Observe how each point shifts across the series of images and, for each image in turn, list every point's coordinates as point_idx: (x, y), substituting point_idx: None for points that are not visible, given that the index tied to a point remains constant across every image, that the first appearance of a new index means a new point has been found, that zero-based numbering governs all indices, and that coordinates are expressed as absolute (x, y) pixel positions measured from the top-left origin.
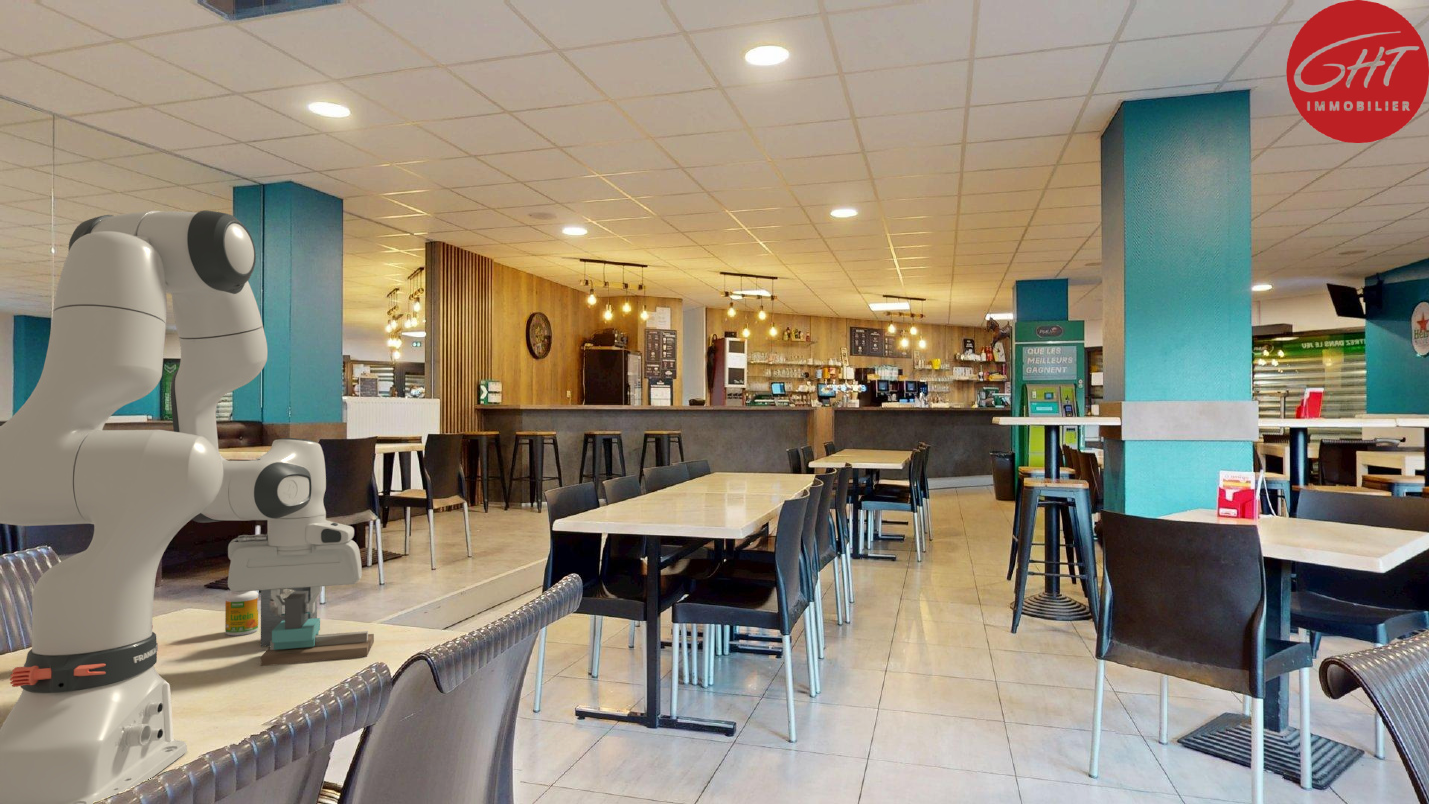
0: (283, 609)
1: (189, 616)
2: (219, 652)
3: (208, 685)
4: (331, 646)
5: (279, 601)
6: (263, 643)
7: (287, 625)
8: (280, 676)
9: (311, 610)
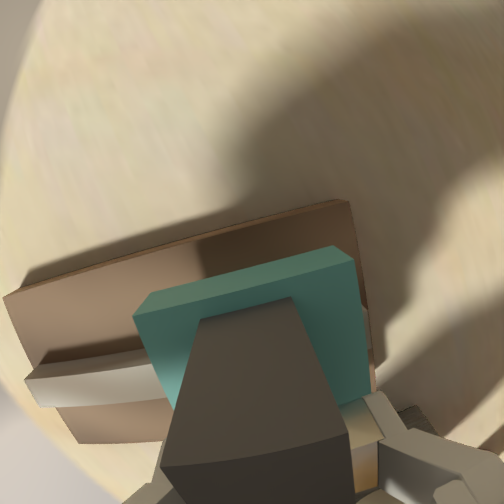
0: (359, 420)
1: None
2: (494, 348)
3: (387, 18)
4: (117, 329)
5: (411, 452)
6: (413, 413)
7: (278, 309)
8: (192, 68)
9: None
